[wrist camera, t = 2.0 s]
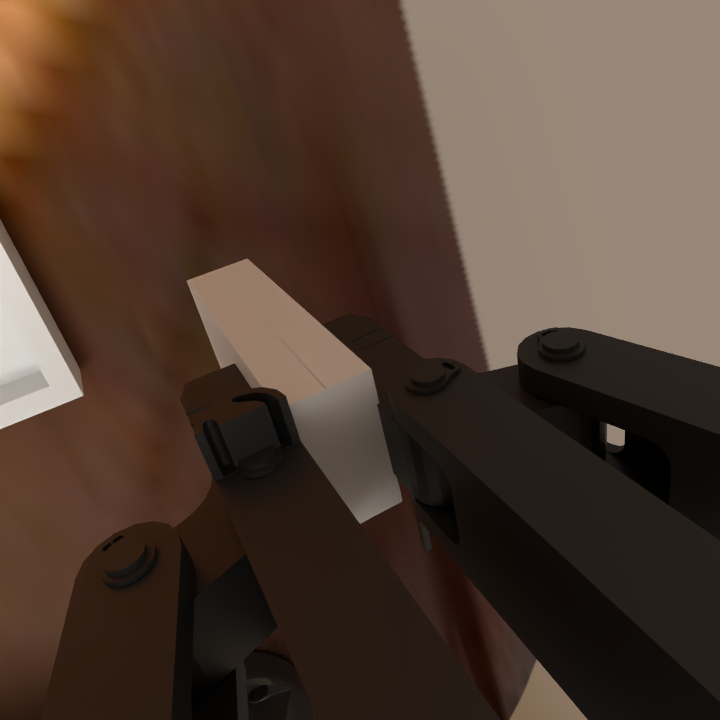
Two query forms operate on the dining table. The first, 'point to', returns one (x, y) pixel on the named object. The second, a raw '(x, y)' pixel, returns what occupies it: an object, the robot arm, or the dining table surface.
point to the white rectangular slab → (30, 346)
